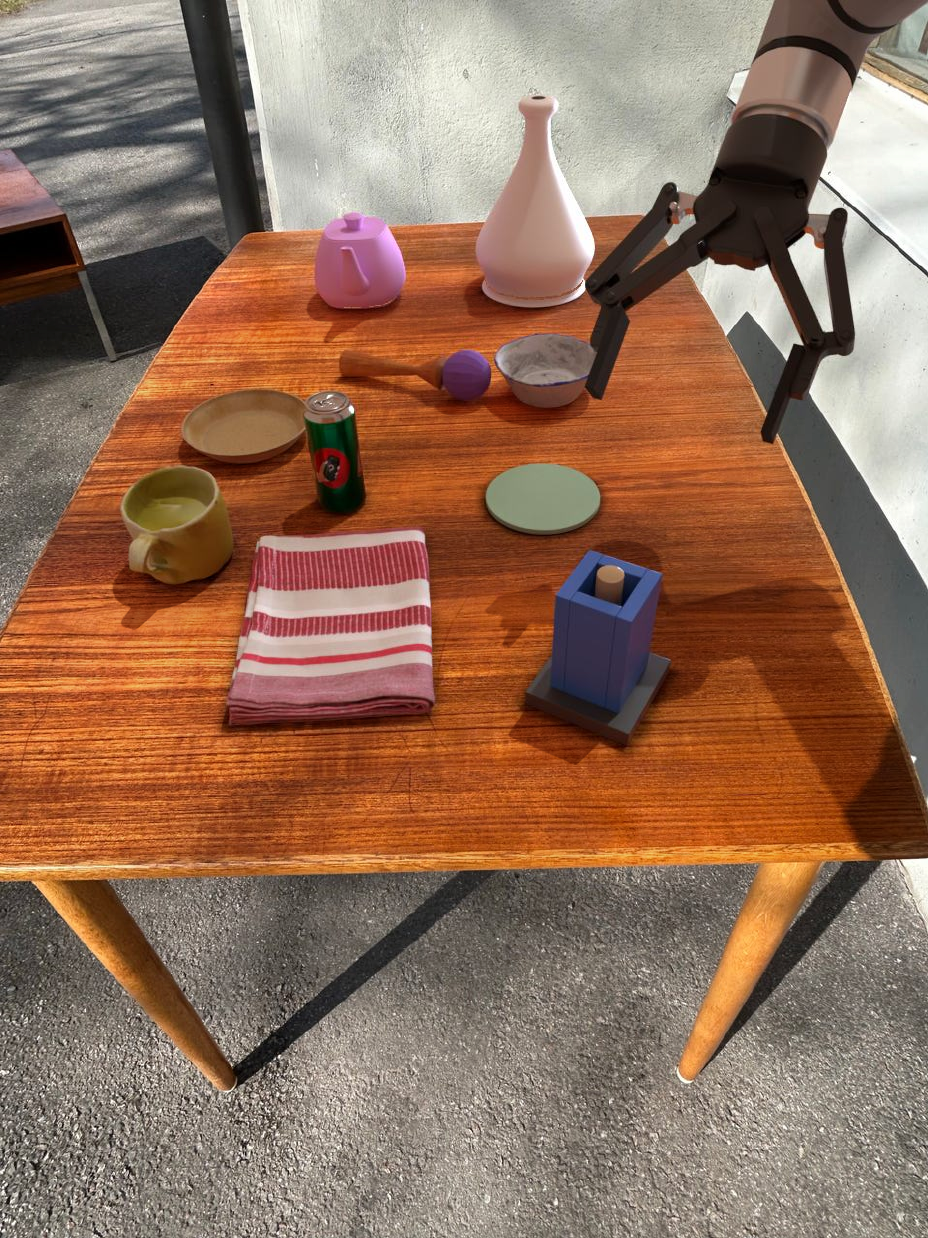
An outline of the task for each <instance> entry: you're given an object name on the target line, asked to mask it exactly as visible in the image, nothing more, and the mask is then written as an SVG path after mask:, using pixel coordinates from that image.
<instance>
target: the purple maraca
mask: <svg viewBox="0 0 928 1238" xmlns="http://www.w3.org/2000/svg"><path fill="white" fill-rule="evenodd" d="M338 368H339V372H340V374H341V376H342V377H345V378H347V377H348V378H349V377H350V378H351V377H388V376H389V377H390V376H391V377H392V376H394V377H395V376H417V377H419V378H420V379H422V380H423V381H425V382H426V383H428V384H429V385H431V386H432V387H434V388H435V389H437V390H438V391H444V390H446V391H447V394H449V395H450V396H452V397H454V398H455V399H456V400H458V401H462V402H463V401H464V402H470V401H473V400H476V399H480V398H481V397H483V395H484V394H485V393H486V392H487V391H488V390H489V389H490V385H491V380H492V367H491V365H490V363H489V361H488V360H487V359H486V357H485V356H484V355H483V354H481V353H479V352H478V351H476V350H472V349H461V350H459V351H457V352H453V353H452V354H451V355H450V357H449V356H448V357H447V356H446V355H445V354H444V355H440V356H438V357H436V358H433V359H430V360H428V361H426V362H423V363H421V364H419V365H414V364H411V363H406V362H401V361H397V360H393V359H388V358H385V357H379V356H376V355H371V354H370V355H369V354H367V353H362V352H358V351H354V350H348V349H344V350H343V351H342V352H341V354H340V356H339V360H338Z"/></svg>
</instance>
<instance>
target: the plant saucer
mask: <svg viewBox="0 0 928 1238" xmlns="http://www.w3.org/2000/svg"><path fill="white" fill-rule="evenodd" d="M304 409H305V401H304V399H302V398H300V397H299V396H297V395H296V394H293V393H290V392H287V391H283V390H279V389H272V388H246V389H239V390H233V391H229V392H225V393H221V394H219V395H216V396H213V397H211V398H209V399H207V400H205V401H202V402H201V403H199V404H198V405H196V406H195V407H193V408H192V410H191V411H189V412H188V413H187V414H186V416H185V417H184V419H183V421H182V423H181V426H180V431H181V435H182V436H181V437H182V438H183V439H184V441H185V442H186V443H187V444H188V445H189V446H190V447H192V448H193V449H195V450H196V451H198V452H199V453H201V454H203V455H204V456H207V457H209V458H211V459H214V460H217V461H219V462H223V463H229V464H239V465H240V464H252V463H259V462H263V461H266V460H270V459H272V458H274V457H277V456H279V455H281V454H282V453H284V452H286V451H287V450H288V449H289V448H291V446H293V445H294V444H295V443H296V441H298V440H299V438H300V437H302V435H303V434H304V432H305V431H306V430H305V424H304V419H303V411H304Z"/></svg>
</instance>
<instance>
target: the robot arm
mask: <svg viewBox="0 0 928 1238" xmlns="http://www.w3.org/2000/svg"><path fill="white" fill-rule="evenodd" d="M927 4H928V0H773V3H772V6H771V9H770V11H769V14H768V17H767V20H766V23H765V26H764V28H763V31H762V34H761V37H760V40H759V43H758V45H757V48H756V51H755V53H754V57H753V59H752V62H751V65H750V67H749V70H748V72H747V75H746V78H745V81H744V83H743V86H742V89H741V91H740V94H739V95H738V96H739V97H738V99H737V102H736V104H735V107H734V110H733V113H732V115H731V118H730V126H729V127H728V129H727V130H726V132H725V135H724V137H723V140H722V143H721V146H720V149H719V150H718V151H719V152H718V154H717V157H716V159H715V162H714V164H713V167H712V170H711V172H710V177H709V178H708V182H707V184H706V186H705V188H704V189H703V190H702V191H701V192H700V193H699V194H698V195H695V194H691V193H687V192H684V191H681V190H679V188H678V185H677V184H676V183H675V182H673V181H669V182H666V183H664V184H663V185H662V186H661V189H660V191H659V193H658V195H657V197H656V199H655V201H654V203H653V205H652V208H651V209H650V210H649V211H648V212H647V213H646V214H645V215H644V217H642V219H641V220H640V221H638V223H637V224H636V225H635V226H634V227H633V229H631V231H630V232H628V234H627V235H626V236H625V237H624V238H623V239H622V240H621V242H620V243H618V245H617V246H616V247H615V248H614V249H613V250H612V251H611V253H609V254H608V255H607V256H606V258H605V259H604V260H603V261H602V262H600V264H599V265H598V266H597V267H596V269H595V270H594V271H593V272H592V273H591V274H590V275H589V276H588V277H587V279H586V280H584V281H585V291H586V292H587V294H588V296H589V297H590V299H591V301H592V302H593V304H595V305H599V306H600V309H599V313H598V315H597V318H596V321H595V324H594V327H593V329H592V332H591V334H590V338H589V344H590V346H591V347H592V349H593V350H594V352H597V353H596V356H595V359H594V362H593V365H592V367H591V370H590V373H589V376H588V378H587V381H586V384H585V388H584V389H585V390H586V391H587V393H589V395H590V396H591V398H592V399H596V400H600V401H602V400H603V398H604V395H605V392H606V390H607V387H608V384H609V382H610V378H611V376H612V373H613V370H614V367H615V365H616V361H617V359H618V356H619V354H620V351H621V348H622V345H623V342H624V340H625V338H626V334H627V331H628V329H629V326H630V323H631V319H630V318H629V316H628V314H627V311H629V310H630V309H632V308H633V307H635V306H637V305H638V304H639V303H641V302H642V301H643V300H645V299H646V298H648V297H649V296H651V295H652V294H654V293H655V292H657V291H658V290H659V289H661V288H663V286H665V285H666V284H668V283H669V282H671V281H672V280H673V279H675V278H676V277H678V276H680V275H681V274H682V273H683V272H685V271H686V270H688V269H689V268H695V267H697V266H699V265H700V264H702V263H703V262H705V261H706V260H707V259H710V260H712V261H713V264H714V265H718V266H719V265H720V266H737V267H739V268H741V269H743V270H746V271H752V272H755V271H756V269H760V268H763V267H766V266H767V267H768V270H769V271H770V274H771V276H772V279H773V281H774V282H775V283H776V285H777V289H778V290H779V292H780V294H781V297H782V299H783V302H784V304H785V306H786V308H787V311H788V313H789V315H790V318H791V320H792V322H793V324H794V327H795V329H796V331H797V334H798V337H799V339H800V341H801V343H802V344H800V343H799V344H798V343H793V344H792V346H791V349H790V352H789V354H788V357H787V360H786V362H785V365H784V367H783V370H782V373H781V375H780V378H779V381H778V384H777V386H776V389H775V392H774V394H773V397H772V399H771V402H770V405H769V407H768V411H767V412H766V415H765V418H764V420H763V423H762V426H761V429H760V434H761V435H760V436H761V440H762V442H763V443H767V444H771V445H774V443H775V440H776V438H777V435H778V432H779V429H780V427H781V425H782V421H783V419H784V416H785V414H786V411H787V408H788V406H789V404H790V403H789V402H790V400H791V399H793V400H797V401H798V400H799V401H804V400H805V399H806V398H807V397H808V395H809V393H810V391H811V388H812V386H813V383H814V381H815V377H816V374H817V372H818V369H819V366H820V364H821V362H822V361H823V360H824V359H825V358H827V357H830V356H837V355H838V356H840V357H847V356H850V355H851V354H852V353H853V352H854V350H855V342H856V329H855V322H854V315H853V308H852V301H851V294H850V288H849V280H848V279H849V278H848V274H847V266H846V259H845V258H846V257H845V252H844V247H845V242H846V237H847V234H848V220H849V219H848V218H849V213H848V211H847V209H846V208H844V207H842V206H841V207H836V208H834V209H832V210H831V212H830V214H827V213H810V212H809V208H810V204H811V202H812V200H813V196H814V194H815V191H816V188H817V186H818V183H819V180H820V177H821V175H822V172H823V171H824V170H823V169H824V167H825V164H826V161H827V159H828V150H829V149H830V148H831V146H832V144H833V143H834V140H835V137H836V134H837V132H838V129H839V127H840V124H841V121H842V118H843V116H844V113H845V110H846V108H847V104H848V102H849V100H850V98H851V97H850V96H851V94H852V92H853V89H854V86H855V83H856V80H857V78H858V75H859V73H860V70H861V68H862V65H863V62H864V61H865V57H866V55H867V52H868V50H869V48H870V47H871V46H872V43H874V41H875V40H877V39H878V38H880V37H881V36H882V35H883V34H886V33H887V32H888V31H889V30H891V29H893V28H895V27H897V26H898V25H900V24H901V23H902V22H903V21H904V20H906V19H907V18H909V17H910V16H912V15H913V14H914V13H916V12H917V11H919V10H920V9H922V8H923V7H924V6H926V5H927ZM690 215H692V216H694V221H695V223H694V224H693V225H691V226H690V227H688V228H687V229H685V230H684V231H683V232H681V234H680V235H679V236H678V239H677V240H675V241H674V242H673V243H672V244H670V245H668V246H667V247H666V248H664V249H663V250H662V251H660V252H659V253H657V254H656V255H654V256H653V257H652V258H650V259H649V260H648V261H646V262H644V263H643V264H642V265H640V264H641V263H642V262H643V261H644V260H645V259H646V257H648V255H649V254H650V253H651V252H652V251H653V250H654V249H655V248H656V247H657V246H658V245H659V243H661V242H662V241H663V239H665V237H666V236H667V235H668V234H669V232H670V231H671V229H672V228H673V226H674V225H680V224H681V223H682V221H683V220H684V219H685V218H686V217H687V216H690ZM806 234H809V235H811V236H812V238H813V244H814V246H815V247H816V248H817V249H820V250H823V268H824V269H823V270H824V276H825V284H826V290H827V298H828V304H829V312H830V319H831V324H832V325H831V326H832V331H825V330H823V328H822V326H821V324H820V321H819V319H818V316H817V315H816V312H815V310H814V307H813V305H812V303H811V301H810V299H809V296H808V294H807V292H806V290H805V287H804V285H803V283H802V281H801V278H800V276H799V273H798V272H797V269H796V266H795V264H794V262H793V260H792V256H791V254H790V250H789V249H790V248H791V247H792V246H793V245H795V244H796V243H797V242H798V241H800V240H801V239H802V238H803V237H804V236H805V235H806ZM639 265H640V266H639Z"/></svg>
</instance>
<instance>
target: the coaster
mask: <svg viewBox="0 0 928 1238" xmlns="http://www.w3.org/2000/svg"><path fill="white" fill-rule="evenodd" d="M485 505H486V509H487V511H488V512H489V515H491V517H493V518H494V519H495V520H496V521H497V522H498V523H500V524H501V525H503V526H504V527H506V528H509V529H511V530H514V531H517V532H521V533H525V534H530V535H539V536H541V535H548V536H549V535H557V534H564V533H567V532H572V531H574V530H576V529H578V528H581V527H583V526H585V525H586V524H588V523H589V522H591V520H592V519H593V518H594V517H595V516H596V514H597V513H598V511H599V508H600V505H601V493H600V490H599V487H598V486H597V485H596V483H595V482H594V481H593V480H592V479H591V478H590V477H589V476H587V475H586V474H584V472H581V471H579V470H577V469H576V468H575V469H574V468H572V467H570V466H566V465H562V464H556V463H545V462H544V463H542V462H541V463H529V464H522V465H519V466H515V467H512V468H509V469H507V470H505V471H503V472H501V473H500V474H498V475H497V476H495V477H494V479H492V481H491V482H490V483H489V484H488V486H487V488H486V491H485Z"/></svg>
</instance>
